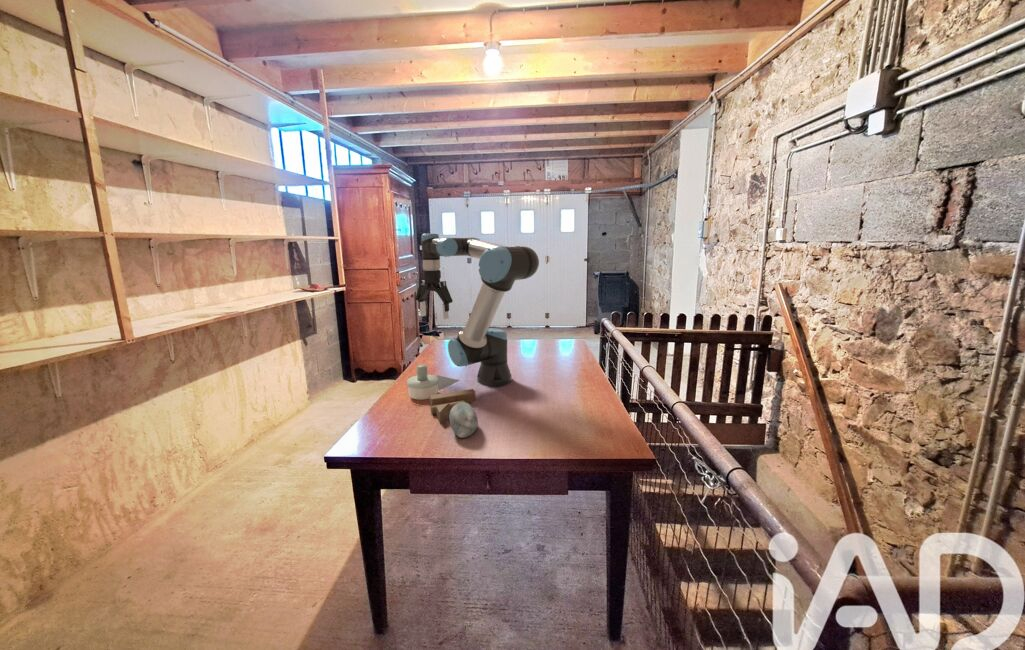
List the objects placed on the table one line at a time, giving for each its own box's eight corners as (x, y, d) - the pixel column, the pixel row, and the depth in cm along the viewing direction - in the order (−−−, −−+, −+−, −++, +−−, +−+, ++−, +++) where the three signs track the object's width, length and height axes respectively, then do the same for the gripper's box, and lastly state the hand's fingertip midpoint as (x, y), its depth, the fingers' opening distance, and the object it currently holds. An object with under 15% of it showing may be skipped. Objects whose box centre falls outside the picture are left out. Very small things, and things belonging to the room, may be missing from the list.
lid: (444, 381, 155) (443, 364, 153) (422, 390, 145) (421, 373, 143) (422, 376, 161) (421, 360, 160) (400, 384, 151) (399, 367, 150)
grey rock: (444, 412, 130) (457, 390, 126) (470, 421, 133) (483, 400, 129) (441, 441, 118) (455, 417, 114) (469, 450, 120) (484, 427, 117)
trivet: (459, 381, 169) (459, 380, 169) (439, 390, 158) (439, 389, 158) (437, 376, 176) (437, 375, 175) (416, 385, 165) (416, 384, 165)
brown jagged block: (426, 392, 142) (473, 385, 149) (427, 407, 144) (473, 399, 150) (436, 410, 127) (487, 401, 134) (437, 426, 128) (488, 416, 135)
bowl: (443, 393, 156) (442, 381, 155) (423, 402, 146) (422, 390, 145) (423, 388, 161) (422, 376, 160) (403, 396, 152) (402, 384, 151)
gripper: (459, 269, 166) (461, 318, 170) (417, 268, 179) (420, 313, 183) (447, 271, 159) (449, 321, 164) (405, 269, 172) (408, 316, 177)
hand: (434, 317), depth 173 cm, fingers open, 13 cm apart
